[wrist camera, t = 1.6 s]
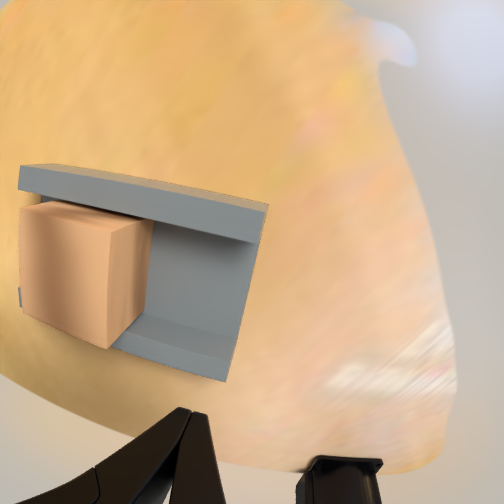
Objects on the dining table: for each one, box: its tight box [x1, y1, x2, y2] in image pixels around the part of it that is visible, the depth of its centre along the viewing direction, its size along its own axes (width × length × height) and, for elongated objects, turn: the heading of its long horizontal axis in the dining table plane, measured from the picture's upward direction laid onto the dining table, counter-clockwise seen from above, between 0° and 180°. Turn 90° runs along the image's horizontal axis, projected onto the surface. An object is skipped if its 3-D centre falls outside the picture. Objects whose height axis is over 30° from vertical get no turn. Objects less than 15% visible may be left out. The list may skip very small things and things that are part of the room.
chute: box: [18, 164, 268, 382], centre depth 17 cm, size 15×10×4 cm, turn 78°
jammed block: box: [19, 199, 155, 350], centre depth 16 cm, size 6×6×5 cm
